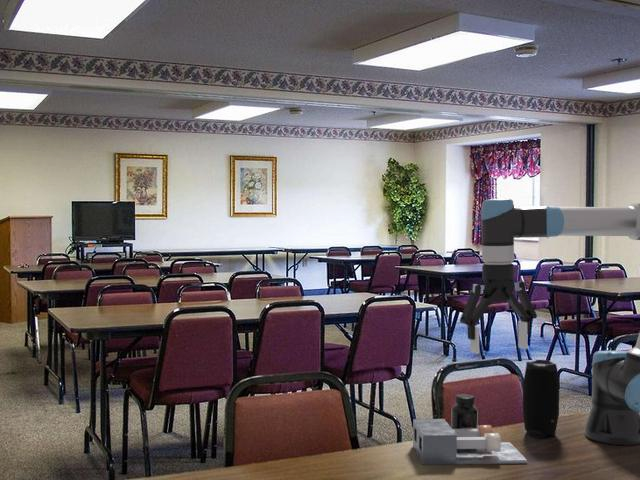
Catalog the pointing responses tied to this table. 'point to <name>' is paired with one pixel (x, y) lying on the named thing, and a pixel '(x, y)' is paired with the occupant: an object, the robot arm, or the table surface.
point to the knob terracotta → (474, 431)
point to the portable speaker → (541, 398)
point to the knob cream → (481, 442)
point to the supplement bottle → (464, 413)
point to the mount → (455, 447)
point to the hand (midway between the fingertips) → (499, 350)
